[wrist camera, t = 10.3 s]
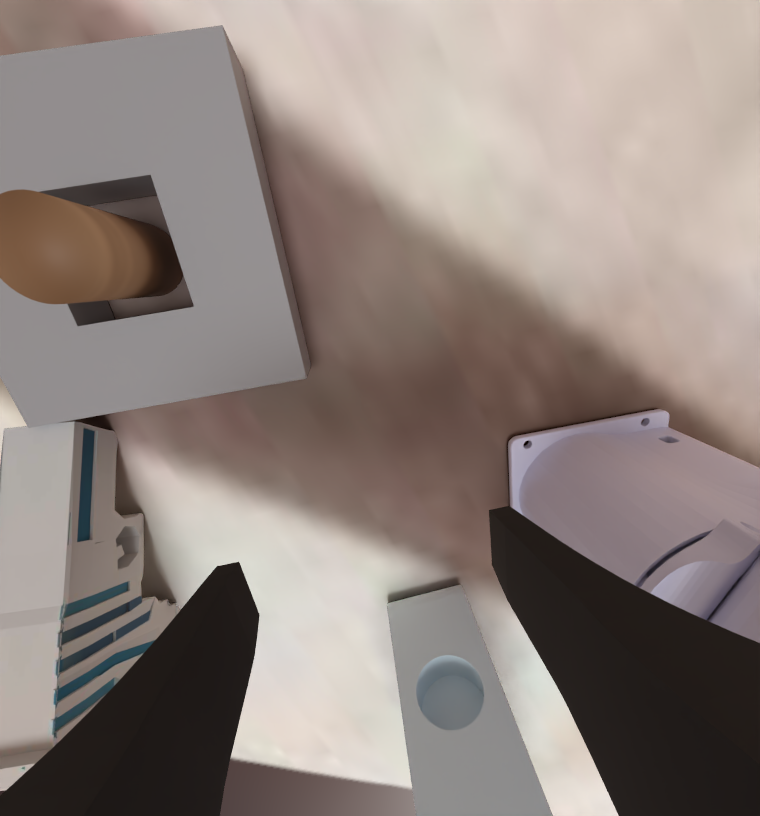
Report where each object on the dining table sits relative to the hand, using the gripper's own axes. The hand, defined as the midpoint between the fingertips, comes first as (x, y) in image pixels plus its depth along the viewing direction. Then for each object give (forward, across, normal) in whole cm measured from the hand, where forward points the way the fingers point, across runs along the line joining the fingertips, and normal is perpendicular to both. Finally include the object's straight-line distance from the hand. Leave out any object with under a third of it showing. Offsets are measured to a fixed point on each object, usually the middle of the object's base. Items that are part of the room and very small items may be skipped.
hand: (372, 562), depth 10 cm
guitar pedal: (+10, -3, +24) cm, 26 cm away
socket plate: (+10, +8, -10) cm, 16 cm away
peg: (+10, +8, -10) cm, 16 cm away
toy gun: (+10, +14, +4) cm, 18 cm away
